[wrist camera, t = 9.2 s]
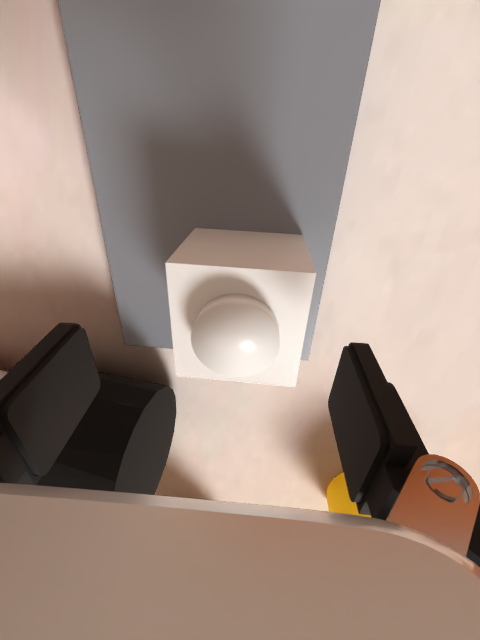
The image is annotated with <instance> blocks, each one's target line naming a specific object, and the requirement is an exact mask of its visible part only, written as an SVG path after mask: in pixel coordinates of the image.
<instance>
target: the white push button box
mask: <svg viewBox="0 0 480 640" xmlns="http://www.w3.org/2000/svg"><path fill="white" fill-rule="evenodd" d="M165 266H166V277H167V288H168V298H169V309H170V320H171V331H172V341H173V352H174V363H175V374H176V376H179V377H190V378H201V379H212V380H223V381H234V382H245V383H256V384H267V385H278V386H289V387H295V386H296V380H297V375H298V370H299V364H300V359H301V353H302V348H303V342H304V337H305V332H306V326H307V321H308V315H309V310H310V304H311V299H312V294H313V288H314V283H315V277H316V271H315V268H314V265H313V263H312V260H311V257H310V254H309V251H308V248H307V245H306V242H305V240H304V237H303V235H299V234H283V233H267V232H252V231H236V230H221V229H205V228H195V229H194V230H193V231H192V232H191V233H190V235H189V236H188V237H187V238H186V239H185V240H184V242H183V243H182V244H181V245H180V246H179V247H178V248H177V250H176V251H175V252H174V253H173V254H172V255H171V257H170V258H169V259H168V260H167V261H166V262H165Z"/></svg>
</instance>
